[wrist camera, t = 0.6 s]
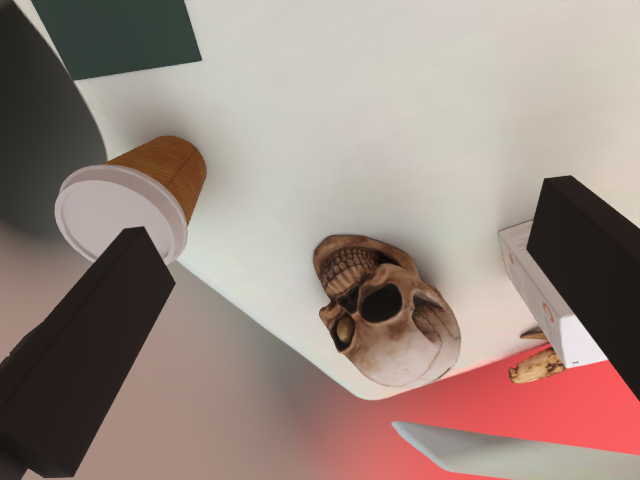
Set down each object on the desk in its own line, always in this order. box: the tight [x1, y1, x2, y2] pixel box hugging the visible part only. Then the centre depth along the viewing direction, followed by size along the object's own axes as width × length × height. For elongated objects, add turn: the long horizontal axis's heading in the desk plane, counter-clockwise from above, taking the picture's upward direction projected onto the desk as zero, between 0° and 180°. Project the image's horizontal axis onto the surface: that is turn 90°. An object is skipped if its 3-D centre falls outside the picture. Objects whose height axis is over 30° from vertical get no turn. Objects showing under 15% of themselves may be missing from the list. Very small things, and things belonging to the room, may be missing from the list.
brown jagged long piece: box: [509, 330, 568, 383], centre depth 48 cm, size 9×5×18 cm
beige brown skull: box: [313, 236, 461, 389], centre depth 40 cm, size 16×17×13 cm
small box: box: [498, 220, 608, 368], centre depth 35 cm, size 8×6×13 cm
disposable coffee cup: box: [55, 136, 206, 265], centre depth 30 cm, size 10×10×12 cm
